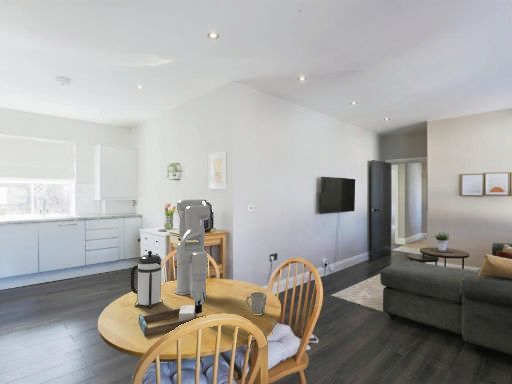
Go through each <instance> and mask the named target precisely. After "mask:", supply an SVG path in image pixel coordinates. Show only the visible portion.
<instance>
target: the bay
mask: <svg viewBox="0 0 512 384" xmlns="http://www.w3.org/2000/svg"><path fill="white" fill-rule="evenodd" d="M179 312H180V308H176V309H171V310H165V311H161V312H155V313H150V314H145V315H143V314H142V313H139V314H138V325H139V328H140V329H141V332H142V333H143V337H147V336H152V335H156V334H160V332H161V333H165V332H169V331H173V329H174V330H176V329H175V328H176V327H178V326H179V325H181V324H184V323H186V322H189V321H191V320H193V319H196V318H199V317H203V316H205V317H206V314H205V315H200V316H195V317H194V318H190V319H185V320H181V321H179V320H177V321H172V322H168V323H161V324H159V325H154V326H150V327H149V326H148V324H147V323H150V322H155V321H159V320H164V319H168V318H173V317H177V316H178V317H179ZM164 331H165V332H164Z"/></svg>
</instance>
